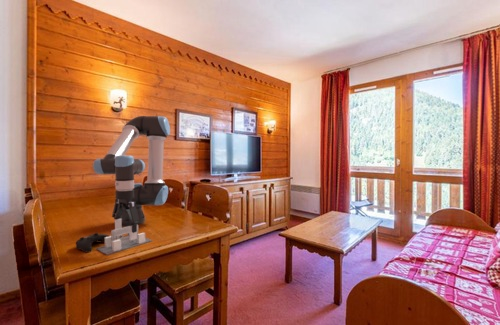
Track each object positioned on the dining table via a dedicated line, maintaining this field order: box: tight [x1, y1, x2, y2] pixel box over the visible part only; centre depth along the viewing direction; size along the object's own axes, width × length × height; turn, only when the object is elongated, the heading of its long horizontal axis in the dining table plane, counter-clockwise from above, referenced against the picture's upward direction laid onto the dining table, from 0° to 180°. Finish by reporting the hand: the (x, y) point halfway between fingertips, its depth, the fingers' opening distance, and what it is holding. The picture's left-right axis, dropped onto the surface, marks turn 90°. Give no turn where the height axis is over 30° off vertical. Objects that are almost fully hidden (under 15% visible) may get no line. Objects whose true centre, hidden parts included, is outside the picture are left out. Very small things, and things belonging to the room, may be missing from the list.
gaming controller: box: [75, 232, 110, 253], centre depth 109 cm, size 14×6×10 cm
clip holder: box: [96, 232, 153, 256], centre depth 110 cm, size 10×20×4 cm, turn 144°
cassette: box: [110, 224, 139, 247], centre depth 110 cm, size 12×2×8 cm, turn 144°
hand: (125, 236), depth 110 cm, fingers open, 13 cm apart
